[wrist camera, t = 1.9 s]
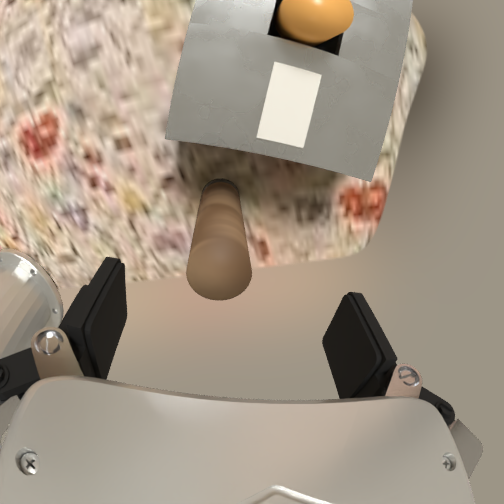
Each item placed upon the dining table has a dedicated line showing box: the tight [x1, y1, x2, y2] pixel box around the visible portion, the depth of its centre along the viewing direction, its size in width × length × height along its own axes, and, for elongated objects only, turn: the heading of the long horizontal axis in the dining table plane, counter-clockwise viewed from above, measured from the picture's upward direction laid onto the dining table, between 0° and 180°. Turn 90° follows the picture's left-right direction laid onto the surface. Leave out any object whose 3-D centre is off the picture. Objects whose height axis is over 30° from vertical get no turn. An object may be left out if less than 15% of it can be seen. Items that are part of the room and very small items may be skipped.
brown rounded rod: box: [186, 179, 252, 300], centre depth 19 cm, size 3×3×12 cm
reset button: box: [274, 0, 354, 47], centre depth 13 cm, size 4×4×4 cm
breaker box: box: [165, 0, 413, 182], centre depth 16 cm, size 16×14×6 cm
